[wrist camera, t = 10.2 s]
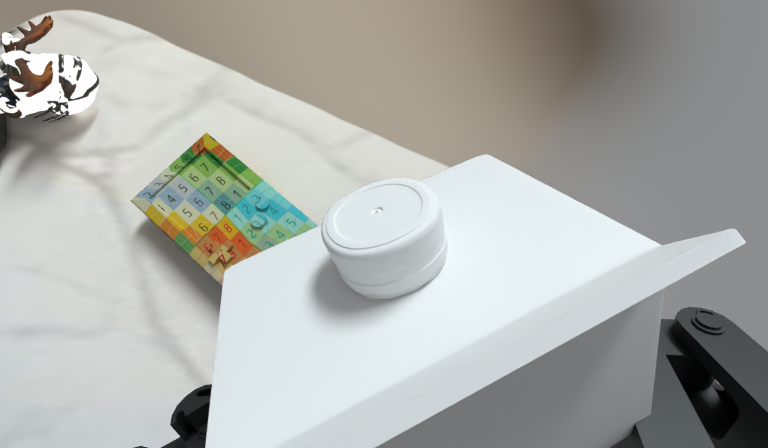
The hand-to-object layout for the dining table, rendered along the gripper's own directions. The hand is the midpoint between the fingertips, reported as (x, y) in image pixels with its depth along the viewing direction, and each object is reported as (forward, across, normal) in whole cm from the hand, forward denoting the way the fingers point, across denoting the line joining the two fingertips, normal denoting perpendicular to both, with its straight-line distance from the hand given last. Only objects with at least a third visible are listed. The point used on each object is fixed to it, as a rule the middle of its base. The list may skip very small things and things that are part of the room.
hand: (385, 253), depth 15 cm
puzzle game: (+26, -16, -9) cm, 32 cm away
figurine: (+41, -39, +6) cm, 57 cm away
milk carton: (+3, 0, -8) cm, 9 cm away
